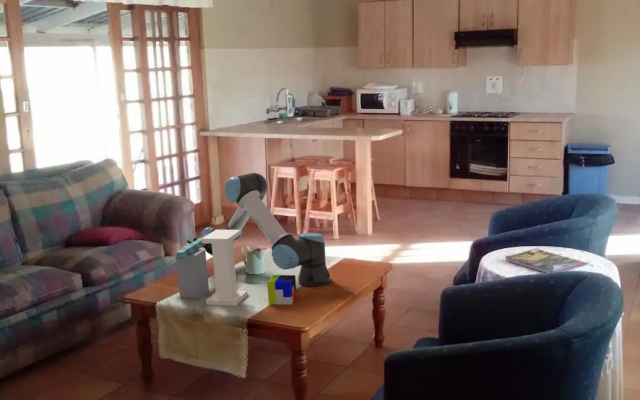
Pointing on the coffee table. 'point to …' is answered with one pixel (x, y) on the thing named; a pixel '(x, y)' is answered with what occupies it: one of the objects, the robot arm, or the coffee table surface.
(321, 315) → the coffee table surface
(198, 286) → the slate block
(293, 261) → the robot arm
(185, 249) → the teal bar
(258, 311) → the coffee table surface
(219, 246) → the off-white stand
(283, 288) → the puzzle toy
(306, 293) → the coffee table surface
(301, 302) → the coffee table surface
